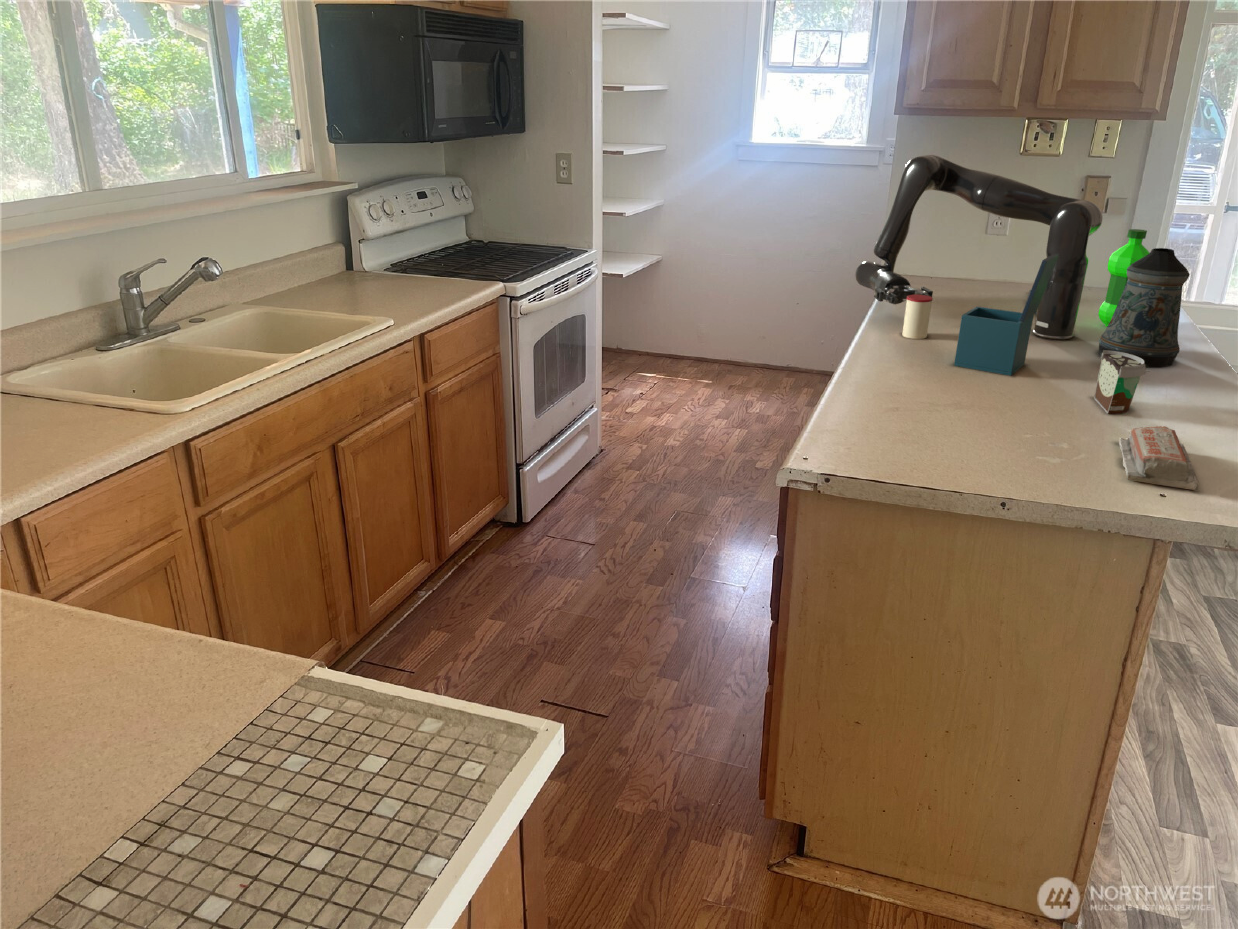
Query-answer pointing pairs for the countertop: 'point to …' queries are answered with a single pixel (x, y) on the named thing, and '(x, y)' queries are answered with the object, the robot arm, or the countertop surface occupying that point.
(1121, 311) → the beer stein
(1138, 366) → the food container
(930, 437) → the countertop surface
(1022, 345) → the cool box
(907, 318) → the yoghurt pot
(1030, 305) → the cool box lid
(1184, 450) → the packaged product
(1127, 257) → the plastic bottle
